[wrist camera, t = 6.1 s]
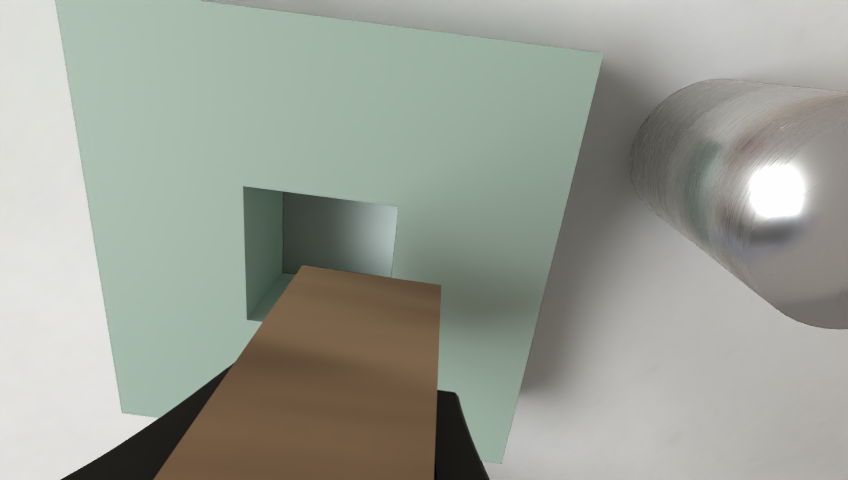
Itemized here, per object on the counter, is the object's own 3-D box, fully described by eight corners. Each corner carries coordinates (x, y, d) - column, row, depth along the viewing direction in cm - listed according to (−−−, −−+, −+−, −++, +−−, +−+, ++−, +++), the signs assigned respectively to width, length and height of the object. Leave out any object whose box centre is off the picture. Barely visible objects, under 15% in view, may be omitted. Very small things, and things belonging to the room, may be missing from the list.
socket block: (493, 397, 23) (501, 463, 19) (174, 354, 23) (121, 413, 19) (570, 52, 17) (603, 53, 13) (138, -4, 17) (51, -20, 13)
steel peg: (747, 230, 19) (933, 342, 12) (613, 212, 19) (715, 313, 12) (806, 89, 17) (1076, 118, 10) (655, 69, 17) (810, 84, 10)
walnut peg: (423, 395, 15) (395, 739, 7) (298, 377, 15) (144, 705, 7) (441, 284, 13) (430, 578, 6) (302, 265, 13) (116, 533, 6)
